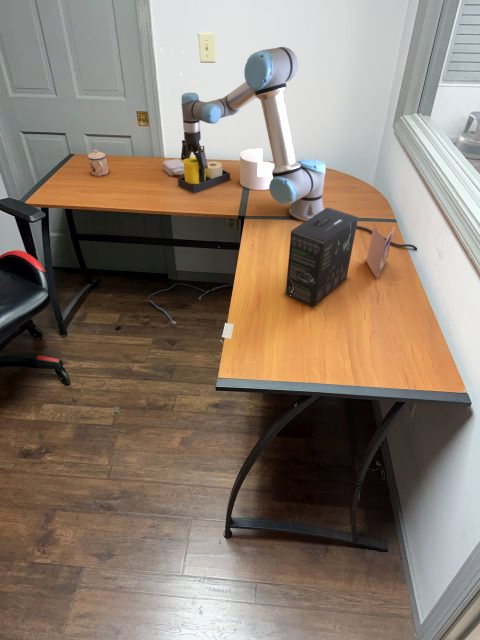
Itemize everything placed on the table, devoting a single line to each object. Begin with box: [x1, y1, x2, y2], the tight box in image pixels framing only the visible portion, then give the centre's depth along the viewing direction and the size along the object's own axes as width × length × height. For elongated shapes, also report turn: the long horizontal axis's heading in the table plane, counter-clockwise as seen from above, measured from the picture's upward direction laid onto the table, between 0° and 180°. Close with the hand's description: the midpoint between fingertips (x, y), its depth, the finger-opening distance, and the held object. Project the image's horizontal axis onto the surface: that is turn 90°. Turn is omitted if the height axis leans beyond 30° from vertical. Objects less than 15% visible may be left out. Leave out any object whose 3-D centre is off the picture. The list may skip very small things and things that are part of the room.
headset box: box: [285, 207, 359, 308], centre depth 142 cm, size 22×12×26 cm, turn 141°
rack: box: [177, 169, 231, 194], centre depth 217 cm, size 12×24×4 cm, turn 133°
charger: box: [162, 158, 185, 177], centre depth 225 cm, size 5×9×15 cm
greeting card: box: [365, 224, 395, 279], centre depth 154 cm, size 11×7×15 cm, turn 151°
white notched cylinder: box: [239, 147, 274, 191], centre depth 215 cm, size 20×20×13 cm
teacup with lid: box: [87, 149, 109, 177], centre depth 223 cm, size 12×9×12 cm
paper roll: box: [205, 161, 223, 179], centre depth 218 cm, size 9×9×7 cm
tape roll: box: [182, 156, 202, 184], centre depth 210 cm, size 10×10×9 cm
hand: (195, 178), depth 212 cm, fingers closed on tape roll, 10 cm apart
